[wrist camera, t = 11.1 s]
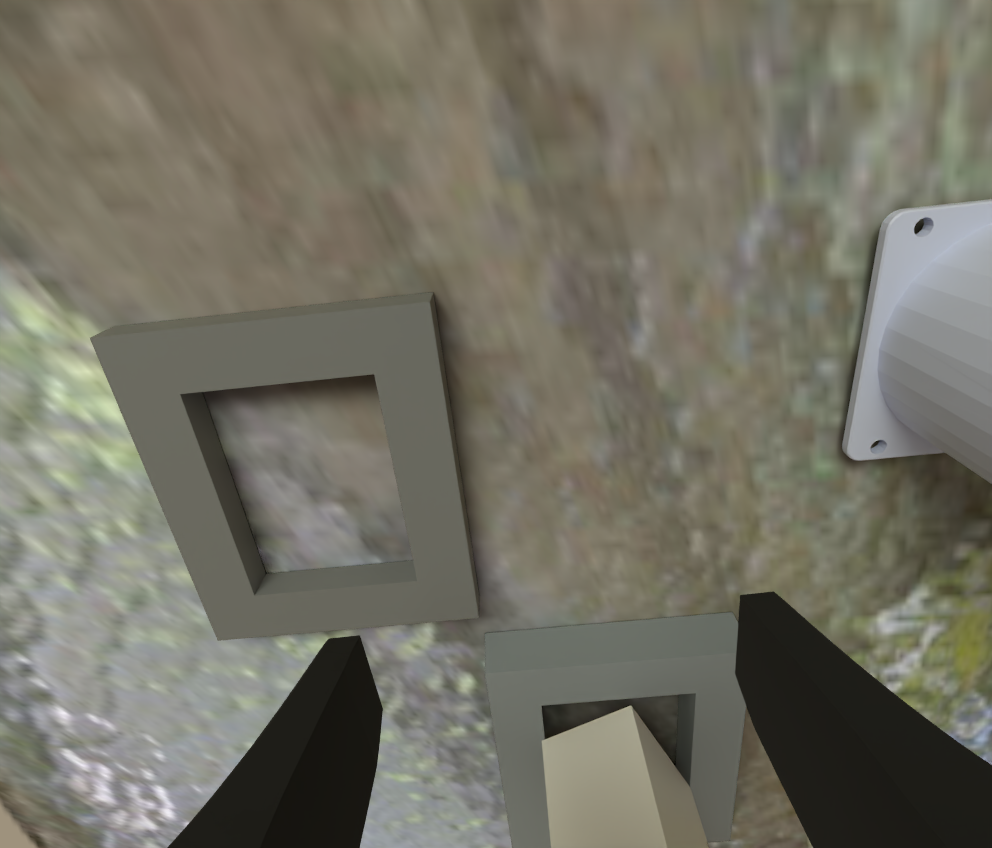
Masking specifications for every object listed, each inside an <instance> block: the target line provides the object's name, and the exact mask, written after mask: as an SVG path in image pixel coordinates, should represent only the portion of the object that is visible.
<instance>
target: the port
mask: <svg viewBox="0 0 992 848" xmlns="http://www.w3.org/2000/svg"><path fill="white" fill-rule="evenodd" d="M737 636H738V622H737V620H736V618H735V616H734V614H733V612H728V613H717V614H705V615H693V616H681V617H670V618H658V619H646V620H634V621H623V622H611V623H599V624H588V625H576V626H564V627H552V628H541V629H529V630H517V631H506V632H494V633H485V679H486V685H487V691H488V698H489V704H490V710H491V717H492V723H493V729H494V736H495V742H496V748H497V755H498V761H499V767H500V774H501V780H502V786H503V792H504V799H505V805H506V811H507V818H508V824H509V830H510V837H511V843H512V848H551V842H550V830H549V819H548V808H547V796H546V785H545V773H544V762H543V750H542V740H545V733H544V723H543V713H542V706H543V705H556V704H568V703H580V702H593V701H605V700H618V699H630V698H642V697H655V696H667V695H679V700H678V722H677V743H676V765H675V767H676V768H677V770H678V771H679V772H680V774H681V775H682V777H683V778H684V779H685V781H686V782H687V784H688V785H689V786H690V788H691V791H692V795H693V798H694V801H695V804H696V807H697V811H698V814H699V817H700V820H701V823H702V827H703V830H704V833H705V836H706V839H707V842H721V841H730V837H731V829H732V820H733V812H734V804H735V795H736V787H737V779H738V770H739V762H740V754H741V745H742V737H743V729H744V720H745V712H746V704H745V701H744V698H743V695H742V692H741V689H740V687H739V684H738V681H737V678H736V675H735V665H736V651H737Z"/></svg>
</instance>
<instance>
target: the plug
mask: <svg viewBox="0 0 992 848" xmlns="http://www.w3.org/2000/svg"><path fill="white" fill-rule="evenodd" d="M542 750H543V762H544V773H545V785H546V796H547V808H548V819H549V830H550V842H551V848H709V846H708V843H707V839H706V836H705V833H704V830H703V827H702V823H701V820H700V817H699V814H698V811H697V807H696V804H695V801H694V798H693V795H692V791H691V788H690V786H689V785H688V784H687V782H686V781H685V779H684V778H683V777H682V775H681V774H680V772H679V771H678V770H677V768H676V767H675V765H674V764H673V763H672V761H671V760H670V759H669V757H668V756H667V754H666V753H665V752H664V750H663V749H662V747H661V746H660V745H659V743H658V742H657V740H656V739H655V738H654V736H653V735H652V733H651V732H650V731H649V729H648V728H647V726H646V725H645V724H644V722H643V721H642V720H641V718H640V717H639V715H638V714H637V713H636V711H635V710H634V708H633V707H632V706H628V707H626V708H623V709H621V710H618V711H615V712H613V713H610V714H608V715H605V716H603V717H600V718H598V719H595V720H593V721H590V722H588V723H585V724H583V725H580V726H578V727H575V728H573V729H570V730H568V731H565V732H563V733H560V734H558V735H555V736H552V737H550V738H547V739H545V740H542Z"/></svg>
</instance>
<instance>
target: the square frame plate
mask: <svg viewBox="0 0 992 848" xmlns="http://www.w3.org/2000/svg"><path fill="white" fill-rule="evenodd" d="M90 340H91V342H92V344H93V347H94V349H95V352H96V354H97V356H98V359H99V361H100V363H101V366H102V368H103V370H104V373H105V375H106V377H107V380H108V382H109V385H110V387H111V389H112V392H113V394H114V396H115V399H116V401H117V403H118V406H119V408H120V411H121V413H122V415H123V418H124V420H125V422H126V425H127V427H128V429H129V432H130V434H131V437H132V439H133V441H134V444H135V446H136V448H137V451H138V453H139V455H140V458H141V460H142V463H143V465H144V467H145V470H146V472H147V474H148V477H149V479H150V481H151V484H152V486H153V488H154V491H155V493H156V496H157V498H158V500H159V503H160V505H161V507H162V510H163V512H164V514H165V517H166V519H167V522H168V524H169V526H170V529H171V531H172V533H173V536H174V538H175V540H176V543H177V545H178V548H179V550H180V552H181V555H182V557H183V559H184V562H185V564H186V566H187V569H188V571H189V574H190V576H191V578H192V581H193V583H194V585H195V588H196V590H197V592H198V595H199V597H200V599H201V602H202V604H203V607H204V609H205V611H206V614H207V616H208V618H209V621H210V623H211V625H212V628H213V630H214V633H215V635H216V637H217V640H218V641H219V640H230V639H242V638H253V637H265V636H276V635H288V634H300V633H311V632H323V631H334V630H346V629H358V628H369V627H381V626H392V625H404V624H415V623H427V622H439V621H450V620H462V619H473V618H479V590H478V583H477V577H476V570H475V564H474V557H473V550H472V544H471V537H470V531H469V524H468V517H467V511H466V504H465V498H464V491H463V484H462V478H461V471H460V465H459V458H458V451H457V445H456V438H455V432H454V425H453V418H452V412H451V405H450V399H449V392H448V386H447V379H446V372H445V366H444V359H443V353H442V346H441V339H440V333H439V326H438V320H437V313H436V306H435V300H434V293H433V292H430V293H421V294H412V295H402V296H393V297H384V298H374V299H365V300H356V301H346V302H337V303H328V304H318V305H309V306H300V307H290V308H281V309H272V310H262V311H253V312H244V313H234V314H225V315H216V316H206V317H197V318H188V319H178V320H169V321H160V322H150V323H141V324H132V325H122V326H114V327H112V328H110V329H107V330H105V331H103V332H101V333H99V334H97V335H95V336H93V337H91V338H90ZM372 374H374V376H375V381H376V386H377V391H378V395H379V400H380V405H381V410H382V415H383V419H384V424H385V429H386V434H387V438H388V443H389V448H390V453H391V458H392V462H393V467H394V472H395V477H396V482H397V486H398V491H399V496H400V501H401V506H402V510H403V515H404V520H405V525H406V529H407V534H408V539H409V544H410V549H411V553H412V558H413V560H412V561H401V562H390V563H379V564H368V565H357V566H346V567H335V568H324V569H312V570H301V571H290V572H279V573H268V574H266V573H265V570H264V567H263V564H262V561H261V558H260V556H259V553H258V550H257V547H256V544H255V541H254V538H253V536H252V533H251V530H250V527H249V524H248V521H247V519H246V516H245V513H244V510H243V507H242V504H241V501H240V499H239V496H238V493H237V490H236V487H235V484H234V481H233V479H232V476H231V473H230V470H229V467H228V464H227V462H226V459H225V456H224V453H223V450H222V447H221V444H220V442H219V439H218V436H217V433H216V430H215V427H214V425H213V422H212V419H211V416H210V413H209V410H208V407H207V405H206V402H205V399H204V396H203V393H202V392H206V391H216V390H226V389H236V388H245V387H255V386H265V385H275V384H284V383H294V382H304V381H314V380H323V379H333V378H343V377H353V376H363V375H372Z"/></svg>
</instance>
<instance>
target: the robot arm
mask: <svg viewBox="0 0 992 848" xmlns="http://www.w3.org/2000/svg"><path fill="white" fill-rule="evenodd" d="M922 218H923V219H924V226H923V228H922V230H921V231H920V232H918V233H917V234H915V233H914V227H915V225H916V223H917V222H918V221H919V220H920V219H922ZM878 440H880V441H879V443H878V445H876V446H875V447H873V448H870V447H871V445H872V444H873V443H874V442H875V441H878ZM842 450H843V451H844V453H845V454H846V455H847V456H848V457H849V458H851V459H853V460H856V461H863V460H874V459H884V458H895V457H905V456H916V455H927V454H937V453H946V454H948V455H949V456H951V457H952V458H954V459H955V460H957V461H958V462H960V463H961V464H963V465H964V466H966V467H967V468H969V469H970V470H972V471H973V472H974V473H976V474H977V475H979V476H980V477H982V478H983V479H985V480H986V481H988V482H989V483H991V484H992V199H989V200H980V201H971V202H962V203H953V204H944V205H935V206H925V207H916V208H907V209H900V210H897V211H894V212H892V213H891V214H889V215H888V216H887V217H886V218H885V220H884V221H883V222H882V225H881V228H880V232H879V237H878V243H877V249H876V254H875V260H874V266H873V272H872V277H871V283H870V289H869V295H868V300H867V306H866V312H865V317H864V323H863V329H862V335H861V340H860V346H859V352H858V358H857V363H856V369H855V375H854V380H853V386H852V392H851V398H850V403H849V409H848V415H847V420H846V426H845V432H844V438H843V443H842ZM735 675H736V678H737V681H738V684H739V687H740V689H741V692H742V695H743V698H744V701H745V704H746V706H747V709H748V712H749V714H750V717H751V720H752V722H753V725H754V728H755V730H756V732H757V734H758V736H759V738H760V741H761V743H762V745H763V747H764V749H765V751H766V753H767V755H768V757H769V759H770V761H771V763H772V765H773V767H774V769H775V771H776V773H777V775H778V777H779V779H780V781H781V783H782V786H783V788H784V790H785V792H786V794H787V796H788V798H789V800H790V802H791V804H792V806H793V808H794V810H795V812H796V814H797V816H798V818H799V820H800V822H801V824H802V826H803V828H804V830H805V832H806V834H807V836H808V838H809V840H810V842H811V844H812V846H813V848H992V765H991V764H989V763H988V762H986V761H985V760H983V759H982V758H980V757H979V756H977V755H976V754H974V753H973V752H971V751H970V750H969V749H967V748H966V747H964V746H963V745H961V744H960V743H959V742H957V741H956V740H954V739H953V738H952V737H950V736H949V735H948V734H946V733H945V732H943V731H942V730H941V729H940V728H938V727H937V726H936V725H934V724H933V723H932V722H930V721H929V720H928V719H926V718H925V717H924V716H922V715H921V714H920V713H918V712H917V711H916V710H914V709H913V708H912V707H910V706H909V705H908V704H907V703H905V702H904V701H903V700H901V699H900V698H899V697H898V696H896V695H895V694H894V693H893V692H891V691H890V690H889V689H888V688H886V687H885V686H884V685H883V684H881V683H880V682H879V681H878V680H877V679H875V678H874V677H873V676H872V675H870V674H869V673H868V672H867V671H866V670H864V669H863V668H862V667H861V666H859V665H858V664H857V663H856V662H855V661H853V660H852V659H851V658H850V657H849V656H847V655H846V654H845V653H844V652H843V651H841V650H840V649H839V648H838V647H837V646H836V645H835V644H833V643H832V642H831V641H830V640H829V639H828V638H826V637H825V636H824V635H823V634H822V633H821V632H819V631H818V630H817V629H816V628H815V627H814V626H813V625H811V624H810V623H809V622H808V621H807V620H806V619H805V618H804V617H802V616H801V615H800V614H799V613H798V612H797V611H796V610H794V609H793V608H792V607H791V606H790V605H789V604H788V603H786V602H785V601H784V600H783V599H782V598H781V597H780V596H778V595H777V594H776V593H775V592H766V593H756V594H747V595H740V606H739V621H738V636H737V651H736V665H735ZM382 711H383V708H382V705H381V702H380V698H379V695H378V692H377V689H376V686H375V682H374V679H373V676H372V673H371V670H370V667H369V663H368V660H367V657H366V654H365V651H364V647H363V644H362V641H361V638H360V635H359V636H350V637H340V638H331V639H328V640H327V641H326V643H325V644H324V645H323V647H322V648H321V650H320V651H319V652H318V654H317V655H316V657H315V658H314V660H313V661H312V663H311V664H310V665H309V667H308V668H307V670H306V671H305V673H304V674H303V676H302V677H301V679H300V680H299V681H298V683H297V684H296V686H295V687H294V689H293V690H292V691H291V693H290V694H289V696H288V697H287V699H286V700H285V701H284V703H283V704H282V706H281V707H280V708H279V710H278V711H277V713H276V714H275V715H274V717H273V718H272V719H271V721H270V722H269V723H268V725H267V726H266V728H265V729H264V730H263V732H262V733H261V734H260V736H259V737H258V738H257V740H256V741H255V743H254V744H253V745H252V747H251V748H250V749H249V750H248V752H247V753H246V754H245V756H244V757H243V758H242V759H241V761H240V762H239V763H238V764H237V766H236V767H235V768H234V769H233V771H232V772H231V773H230V775H229V776H228V777H227V778H226V780H225V781H224V782H223V783H222V785H221V786H220V787H219V788H218V790H217V791H216V792H215V793H214V795H213V796H212V797H211V798H210V799H209V801H208V802H207V803H206V804H205V805H204V807H203V808H202V809H201V810H200V811H199V812H198V814H197V815H196V816H195V817H194V818H193V820H192V821H191V822H190V823H189V824H188V825H187V826H186V828H185V829H184V830H183V831H182V832H181V833H180V834H179V835H178V837H177V838H176V839H175V840H174V841H173V842H172V843H171V844H170V845H169V847H168V848H360V843H361V838H362V834H363V829H364V825H365V820H366V815H367V811H368V806H369V801H370V797H371V792H372V787H373V782H374V777H375V772H376V768H377V760H378V752H379V743H380V733H381V722H382Z"/></svg>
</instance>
